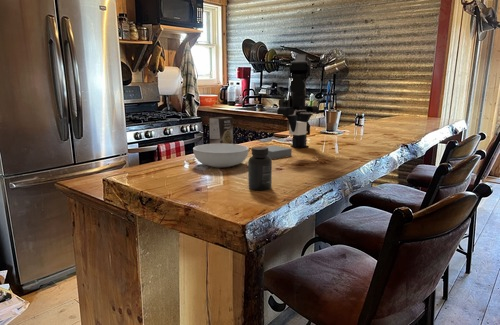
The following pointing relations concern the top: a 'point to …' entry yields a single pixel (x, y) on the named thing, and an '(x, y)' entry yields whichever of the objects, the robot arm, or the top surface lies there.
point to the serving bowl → (220, 154)
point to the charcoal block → (278, 152)
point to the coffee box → (221, 130)
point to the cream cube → (299, 128)
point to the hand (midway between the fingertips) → (297, 131)
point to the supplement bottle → (260, 169)
